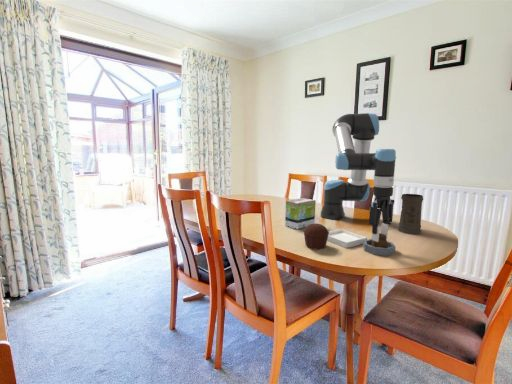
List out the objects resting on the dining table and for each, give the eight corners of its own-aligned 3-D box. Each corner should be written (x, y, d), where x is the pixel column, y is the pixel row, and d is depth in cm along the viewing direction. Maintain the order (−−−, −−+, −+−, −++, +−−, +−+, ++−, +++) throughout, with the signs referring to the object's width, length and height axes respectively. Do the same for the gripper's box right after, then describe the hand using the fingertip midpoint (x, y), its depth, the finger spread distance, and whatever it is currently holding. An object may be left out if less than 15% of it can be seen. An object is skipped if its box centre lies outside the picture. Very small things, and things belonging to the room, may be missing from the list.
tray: (320, 238, 136) (320, 233, 136) (340, 233, 143) (340, 228, 143) (346, 248, 122) (346, 242, 122) (367, 242, 129) (367, 237, 129)
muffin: (313, 240, 133) (314, 219, 132) (333, 246, 125) (334, 224, 123) (297, 245, 125) (298, 224, 124) (317, 252, 117) (318, 229, 116)
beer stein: (424, 235, 140) (427, 195, 138) (401, 233, 142) (404, 195, 140) (413, 228, 155) (416, 193, 153) (393, 227, 157) (395, 192, 155)
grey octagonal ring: (357, 248, 122) (358, 242, 121) (375, 243, 128) (375, 237, 127) (382, 257, 112) (382, 250, 111) (400, 252, 118) (400, 245, 117)
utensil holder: (379, 253, 116) (381, 226, 114) (367, 249, 121) (369, 222, 119) (389, 251, 118) (391, 224, 116) (377, 246, 124) (379, 220, 122)
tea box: (298, 229, 150) (298, 203, 148) (284, 225, 157) (284, 200, 155) (315, 224, 160) (316, 199, 157) (301, 221, 167) (302, 197, 165)
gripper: (377, 189, 108) (373, 246, 111) (404, 185, 117) (400, 238, 120) (361, 186, 114) (358, 240, 118) (388, 183, 123) (384, 234, 127)
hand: (379, 239), depth 119 cm, fingers closed on utensil holder, 5 cm apart
